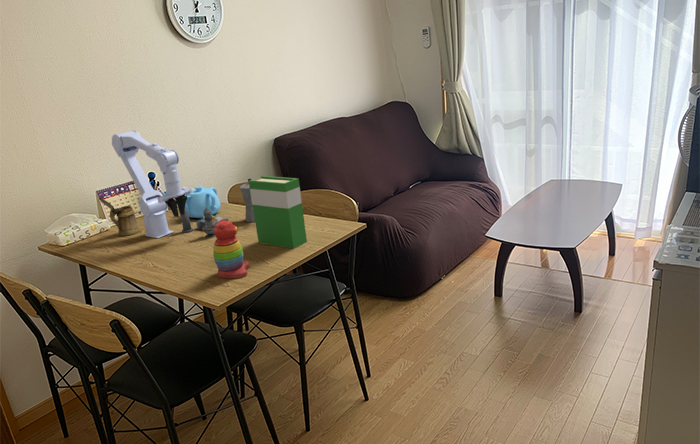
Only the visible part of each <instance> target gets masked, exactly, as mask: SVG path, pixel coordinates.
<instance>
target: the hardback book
mask: <svg viewBox="0 0 700 444" xmlns="http://www.w3.org/2000/svg"><path fill="white" fill-rule="evenodd" d="M248 183H249V187H250V193H251V199H252V206H253V212H254V218H255V222H254V223H255V229H256V235H257V241H258V244H265V245H271V246H277V247H282V248H286V249H287V248H288V249H293V250H295V249H296V248H298V247H300V246H302V245H303V244H306V243H307V242H308V241H307V233H306V232H307V231H306V224H305V217H304V210H303V203H302V201H303V200H302V195H301V188H300V187H301V186H300V180H299V178H296V177H283V176H270V175H269V176H268V175H262V176H260V179H256V180H253V179H251V180H249V182H248Z"/></svg>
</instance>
